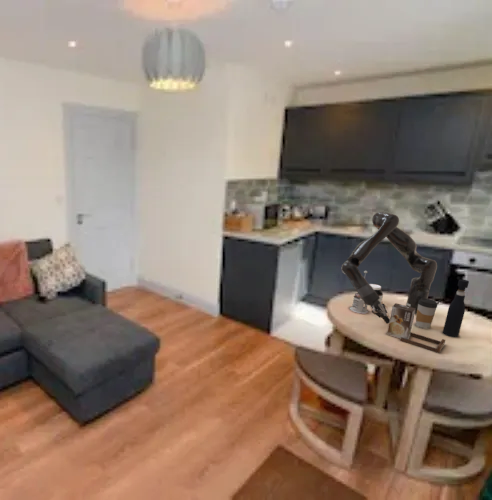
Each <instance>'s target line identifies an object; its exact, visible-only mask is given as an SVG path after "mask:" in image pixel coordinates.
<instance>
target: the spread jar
mask: <svg viewBox="0 0 492 500" xmlns="http://www.w3.org/2000/svg"><path fill="white" fill-rule="evenodd" d="M368 284H369V285H370V286H371V287H372V288H373V289H374V290H375V292H376V293H377V294H378V296H379V297H380V299H379V300H378V301H379V302H380V303H381V304H382V302H383V297H384V294H383V293H384V292H383V291H382V286H381V285H379V284H375V283H368ZM360 300H362V299H360ZM369 306H370V304H369Z"/></svg>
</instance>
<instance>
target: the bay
mask: <svg viewBox="0 0 492 500" xmlns="http://www.w3.org/2000/svg"><path fill="white" fill-rule="evenodd" d="M410 337H413V338H416V339H420V340H422V341H427V342H429V343H433V344H436V345H437V346H436V347H434V346H430V345H427V344H424V343H421V342H418V341H414V340H411V339H405V338H402V337H401V339H400V341H401V342H403V343H407V344H408V345H409V344H410V345H413V346H416V347H418V348H423V349H425V350H428V351H430V352H431V351H432V352H434V353H437V354H440V353H441V351H442V349H443V348H444V346H445V344H446V339H444V338H442V339H441V340H437V339H434V338H431V337H428V336H424V335H421V334H418V333H414V332H411V333H410Z"/></svg>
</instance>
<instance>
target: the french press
mask: <svg viewBox="0 0 492 500" xmlns="http://www.w3.org/2000/svg"><path fill="white" fill-rule="evenodd" d="M363 273H364V276H366V274H368V273H369V272H368V271H367V270H364V271H363ZM352 299H353V300H352V304H351V305H352V306H350V307H349V310H350V312H351V311H352V312H354V313H355V314H356V313H357V314H363V315H365V314H368V313H369V311H368V305H369V304H368V305H366V304H365V302H364V301H363V300H360V299H362V298H361V297H360V296H359V294H358V292H355V293H354V295H353V298H352ZM369 306H370V305H369Z"/></svg>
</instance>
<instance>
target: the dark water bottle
mask: <svg viewBox="0 0 492 500" xmlns="http://www.w3.org/2000/svg"><path fill="white" fill-rule="evenodd" d="M469 285H470V281H469V280H468V279H463V278H461V279H458V282H457V287H458V289H457V291H456V293H455V295H454V298H453V300H452V301H451V302H450V304H449V306H448V309H447V313H446V317H445V322H444V325H443V329H442V334H443V335H444V336H446V337H450V338H458V337H459V335H460V333H461V332H460V331H461V328H462V324H463V320H464V317H465V312H466V304H465V298H466V292H465V291H466V289H468V288H469Z"/></svg>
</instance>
